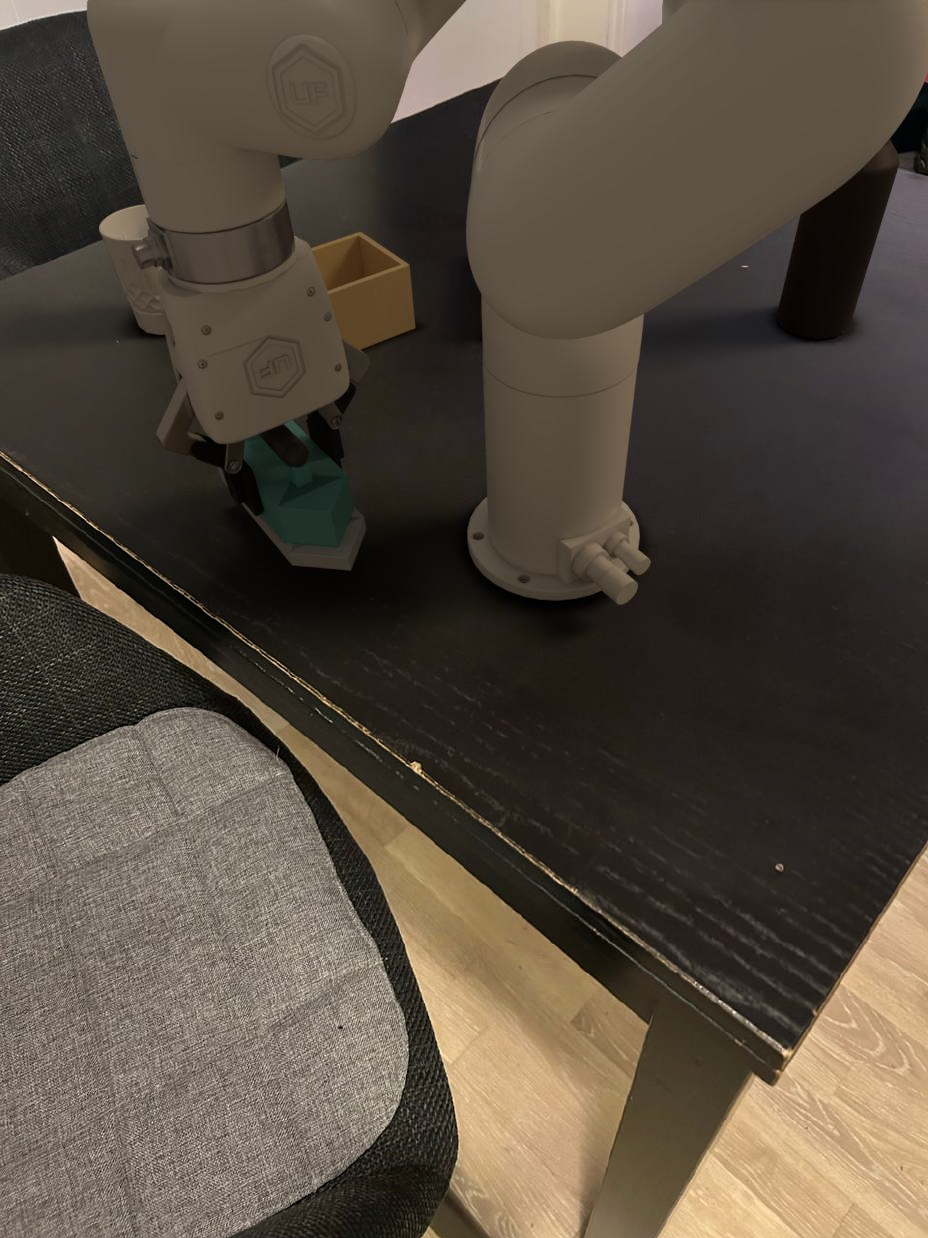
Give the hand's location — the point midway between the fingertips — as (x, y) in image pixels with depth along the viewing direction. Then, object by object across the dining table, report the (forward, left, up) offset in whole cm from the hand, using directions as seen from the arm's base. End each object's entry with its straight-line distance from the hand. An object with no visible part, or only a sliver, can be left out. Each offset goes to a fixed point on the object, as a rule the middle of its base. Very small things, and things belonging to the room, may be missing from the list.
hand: (290, 484), depth 63 cm
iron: (0, 0, -2) cm, 2 cm away
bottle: (-3, -54, -5) cm, 54 cm away
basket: (+25, -17, -5) cm, 31 cm away
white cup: (+38, -5, -5) cm, 39 cm away
